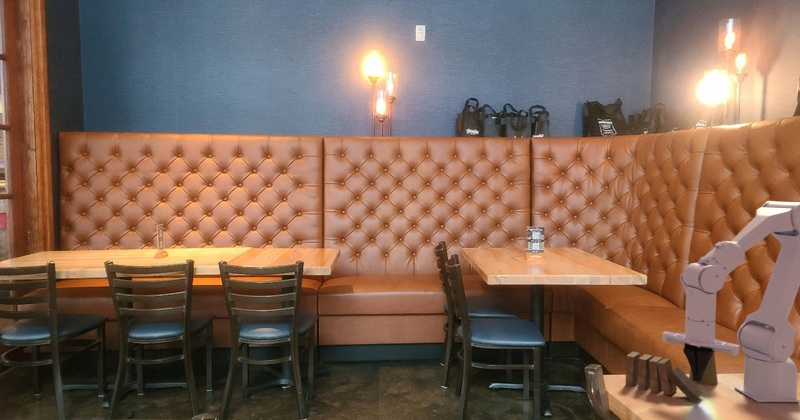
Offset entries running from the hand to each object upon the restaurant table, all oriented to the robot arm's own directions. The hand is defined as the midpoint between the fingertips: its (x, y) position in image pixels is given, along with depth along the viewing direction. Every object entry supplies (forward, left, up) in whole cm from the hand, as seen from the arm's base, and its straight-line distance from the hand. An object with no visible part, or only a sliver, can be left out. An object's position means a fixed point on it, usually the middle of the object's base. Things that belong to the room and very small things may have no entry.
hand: (697, 380), depth 113 cm
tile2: (+4, -4, -4) cm, 7 cm away
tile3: (+6, -6, -4) cm, 9 cm away
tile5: (+10, -10, -4) cm, 14 cm away
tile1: (0, 0, -4) cm, 4 cm away
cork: (-8, -11, -5) cm, 15 cm away
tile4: (+8, -8, -4) cm, 12 cm away
